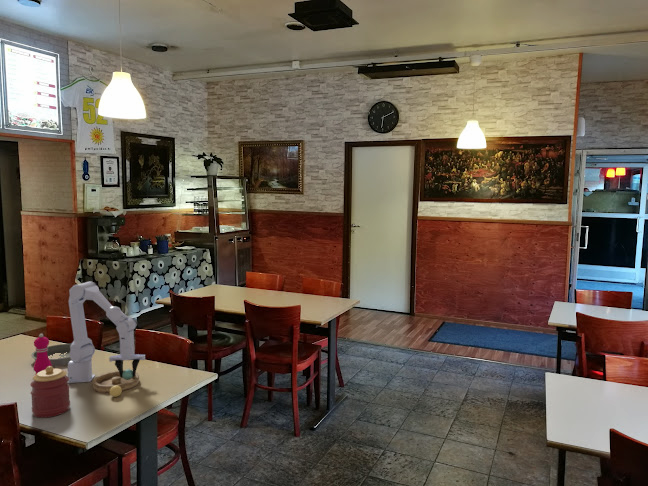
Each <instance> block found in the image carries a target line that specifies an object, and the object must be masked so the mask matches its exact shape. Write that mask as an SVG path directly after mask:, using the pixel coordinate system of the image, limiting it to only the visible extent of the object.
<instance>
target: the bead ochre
mask: <svg viewBox="0 0 648 486" xmlns="http://www.w3.org/2000/svg"><path fill="white" fill-rule="evenodd" d="M122 392H123V391H122V389H121V387H120V386H118V385H115V386H113V387H111V389H110V393H109V395H110V396H111V397H114V398H117V397H119V396H121V394H122Z"/></svg>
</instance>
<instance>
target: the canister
mask: <svg viewBox="0 0 648 486" xmlns="http://www.w3.org/2000/svg"><path fill="white" fill-rule="evenodd" d="M35 374H36V373H35ZM35 374H34V375H33V376H32V381H31V382H30V387H31V391H30V395H31V413H32V416H34V417H36V418H51V417H56V416H59V415H62V414H64V413H66V412H67V411H69V409H70V406H71V400H70V384H69V383H68V381H69V377H68V375H67V371H65V370H63V369H61V368H58V367H57V368H54V366H48V367H47V368H46V370H43V371H40V372H38V373H37V374H36V375H35Z"/></svg>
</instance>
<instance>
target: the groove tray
mask: <svg viewBox="0 0 648 486" xmlns="http://www.w3.org/2000/svg"><path fill="white" fill-rule="evenodd" d="M124 371H125V370H123V372H124ZM139 382H140V375H139V373H138V372H136V374H135V377H132V378H131V379H130V380H125V379H124V378H123V377H120V373H119V371H118V370H114V371H108V372H106V373H102V374H100V375H97V376H96V377H94V378H93V379H92V388H93V390H94V391H96V392H99V393H104V394H107V393H108V394H110V389H111V387H113V386H115V385H118V386H120V387H121V389H122V392H124V391H128V390H131V389H134V387H136V386H137V385H138V384H139Z"/></svg>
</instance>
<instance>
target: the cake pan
mask: <svg viewBox="0 0 648 486" xmlns="http://www.w3.org/2000/svg"><path fill="white" fill-rule="evenodd" d="M71 344H72V343H60V344H59V343H58V344H53V345H48V346H47V347H48V350H47V355H48V356H50V355H52V356H53V354H55V353H61V354H63V355H61V354H60V355H59V356H61V357H63V358H61V357H60V358H58V359H49V360H50V361H51V364H52V367H61V366H62V367H63V366H66V365H67V366H68V363H69V361H72V360H71V359H70V355H69V354H70V346H71ZM66 352H67V353H66ZM64 353H66V354H65V355H64ZM64 356H66V357H64ZM31 358H32V359H34V362H35V361H36V359H37V352H36V350H35V351H34V352H32V353H31ZM51 358H52V357H51Z"/></svg>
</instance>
